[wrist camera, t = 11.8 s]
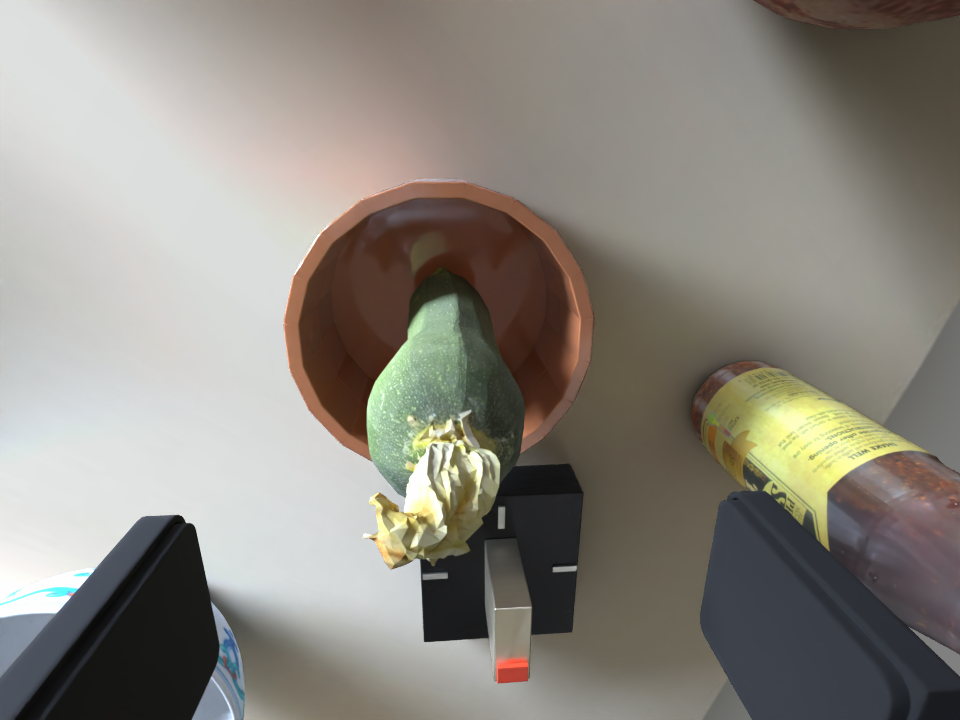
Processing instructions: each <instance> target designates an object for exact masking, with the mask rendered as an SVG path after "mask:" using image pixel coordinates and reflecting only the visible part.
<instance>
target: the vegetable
mask: <svg viewBox="0 0 960 720" xmlns="http://www.w3.org/2000/svg"><path fill="white" fill-rule="evenodd" d="M407 333H408V340H407V341H406V342H405V343H404V344H403V346H402V347H401V348H400V349H399V351H398V352H397V353H396V355H395V356H394V357H393V359H392V360H391V361H390V363H389V364H388V365H387V366H386V368H385V369H384V370H383V372H382V373H381V374H380V376H379V377H378V378H377V380H376V381H375V384H374V386H373V389H372V391H371V394H370V396H369V399H368V406H367V434H368V444H369V452H370V456H371V459H372V461H373V462H374V464H375V465H376V467H377V469H378V470H379V472H380V473H381V474H382V475H383V476H384V478H385V479H386V480H387V481H388V482H389V483H390V485H391V486H392V487H393V488H394V489H395V491H396V492H397V493H398V494H400V495H402V496H403V497H405V498H406V503H405V509H404V513H402V512H399V508H398V506H397V505H396V504H394V503H392V502H390V501H389V500H388V499H387V497H385V496H384V495H382V494H381V493H379V492H378V493H377V494H375V495H373V496H372V497H371V498H370V502H369V504H370V505H375V506H376V515H377V522H378V528H379V532H378V533H376V534H373V535H369V534H364V535H363V538H370V539H372V540H373V541H375V542H376V544H377V546H378V548H379V550H380V552H381V554H382V557H383V559H384V561H385V563H386V564H387V565H388V567H389V568H390V569H394V568H398V567H401V566H403V565H406V564H408V563H410V562H412V561H413V560H414V559H415V558H418V559H427V560H428V561H430V562H431V565H432V566H434V565H435V563H436V561H437V559H438V558H443V559H444V558H445V557H446V556H448V555H454V556H458V555H462V554H464V553H467V552H469V551H470V549H469V547H468V544H467V543H466V541H467V540H468V539H469V538H470V536H471V535H472V534H473V533H474V532H475V531H476V530H477V529H478V528H479V527H480V526H481V525H482V524H483V521H482V517H483V516H484V515H486V514H487V513H488V512H489V511H490V510H491V508H492V506H493V504H494V502H495V498H496V494H497V491H498V488H499V484H500V483H501V482H502V480H503V479H504V478H505V477H506V475H507V474H508V473H509V472H510V471H511V469H512V468H513V467H514V466H515V464H516V462H517V460H518V458H519V455H520V452H521V445H522V438H523V431H524V417H525V404H524V399H523V396H522V393H521V390H520V388H519V386H518V384H517V383H516V381H515V379H514V377H513V376H512V374H511V371H510V370H509V368H508V367H507V366H506V364H505V362H504V361H503V359H502V357H501V354H500V351H499V348H498V345H497V342H496V339H495V335H494V331H493V325H492V320H491V316H490V313H489V310H488V308H487V306H486V304H485V303H484V301H483V299H482V297H481V296H480V294H479V292H478V291H477V290H476V289H475V288H474V287H473V286H472V285H471V284H470V283H469V282H468V281H467V280H466V279H465V278H463V277H461V276H459V275H455V274H453V273H452V272H450V271H448V270H446V269H445V267H444V266H440V267H438V268H437V269H436V271H435V272H434V274H433V275H430V276H428V277H427V278H425V279H424V280H423V281H422V282H421V284H420V285H419V286H418V287H417V288H416V290H415V291H414V292H413V294H412V296H411V298H410V302H409V317H408V328H407Z"/></svg>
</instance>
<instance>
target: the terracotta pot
mask: <svg viewBox="0 0 960 720" xmlns="http://www.w3.org/2000/svg"><path fill="white" fill-rule="evenodd" d="M440 266H444V267H445V269H446V270H448V271H450V272H452V273H453V274H455V275H459V276H461V277H463V278H465V279H466V280H467V281H468V282H469V283H470V284H471V285H472V286H473V287H474V288H475V289H476V290H477V291H478V292H479V294H480V296H481V297H482V299H483V301H484V303H485V304H486V306H487V308H488V310H489V313H490V316H491V320H492V325H493V331H494V335H495V339H496V342H497V345H498V348H499V351H500V354H501V357H502V359H503V361H504V362H505V364H506V366H507V367H508V368H509V370H510V371H511V374H512V376H513V377H514V379H515V381H516V383H517V384H518V386H519V388H520V390H521V393H522V396H523V399H524V404H525V417H524V431H523V438H522V445H521V452H520V454H521V453H523V452H524V451H526V450H527V449H528V448H530V447H531V446H533V445H534V444H536V443H537V442H539V441H540V440H542V439H543V438H545V437H546V436H547V435H548V433H549V432H550V431H551V430H552V429H553V427H554V426H555V425H556V424H557V422H558V421H559V420H560V419H561V418H562V416H563V415H564V414H565V413H566V412H567V410H568V409H569V408H570V407H571V406H572V404H573V402H574V401H575V399H576V396H577V394H578V391H579V389H580V387H581V384H582V382H583V379H584V377H585V374H586V372H587V370H588V367H589V365H590V361H591V354H592V341H593V328H594V317H593V316H594V313H593V309H592V305H591V301H590V297H589V293H588V289H587V285H586V281H585V277H584V273H583V272H582V269H581V267H580V266H579V264H578V263H577V261H576V260H575V258H574V257H573V255H572V253H571V252H570V250H569V249H568V247H567V246H566V244H565V243H564V241H563V240H562V238H561V237H560V235H559V234H558V232H557V231H556V230H555V229H554V228H553V227H552V226H550V225H549V224H548V223H546V222H545V221H544V220H543V219H541V218H540V217H539V216H537V215H536V214H535V213H534V212H532V211H531V210H530V209H528V208H527V207H526V206H525V205H523V204H522V203H521V202H519V201H518V200H516V199H514V198H512V197H509V196H507V195H504V194H501V193H498V192H495V191H492V190H489V189H487V188H484V187H481V186H478V185H475V184H472V183H469V182H466V181H463V180H460V179H415V180H412V181H409V182H407V183H404V184H401V185H398V186H395V187H392V188H389V189H386V190H383V191H381V192H378V193H376V194H373V195H371V196H368V197H366V198H363V199H362V200H360V201H358V202H357V203H356V204H355V205H353V206H352V207H351V208H349V209H348V210H347V211H346V212H344V213H343V214H342V215H341V216H339V217H338V218H337V219H336V220H334V221H333V222H332V223H331V224H329V225H328V226H327V227H326V228H324V229H323V230H322V231H321V233H319V234H318V236H317V238H316V239H315V241H314V243H313V244H312V246H311V247H310V249H309V251H308V252H307V254H306V255H305V257H304V259H303V260H302V262H301V263H300V265H299V267H298V268H297V270H296V271H295V273H294V276H293V279H292V283H291V288H290V293H289V297H288V302H287V307H286V311H285V316H284V321H283V322H284V324H283V326H284V333H285V341H286V349H287V357H288V364H289V369H290V373H291V375H292V377H293V379H294V381H295V383H296V385H297V387H298V389H299V391H300V393H301V395H302V397H303V399H304V401H305V403H306V405H307V407H308V409H309V411H310V412H311V413H312V414H313V415H314V416H315V417H316V419H317V420H318V421H319V422H320V423H321V424H322V425H323V426H324V427H325V428H326V429H327V430H328V431H329V432H330V433H331V434H332V435H333V436H334V437H335V438H336V439H337V440H338V441H339V442H340V443H342V445H343V446H345V447H347V448H349V449H351V450H352V451H354V452H356V453H358V454H359V455H361V456H363V457H365V458H367V459H368V460H370V461H372V459H371V456H370V452H369V444H368V434H367V406H368V399H369V396H370V394H371V391H372V389H373V386H374V384H375V381H376V380H377V378H378V377H379V376H380V374H381V373H382V372H383V370H384V369H385V368H386V366H387V365H388V364H389V363H390V361H391V360H392V359H393V357H394V356H395V355H396V353H397V352H398V351H399V349H400V348H401V347H402V346H403V344H404V343H405V342H406V341H407V340H408V333H407V328H408V317H409V302H410V298H411V296H412V294H413V292H414V291H415V290H416V288H417V287H418V286H419V285H420V284H421V282H422V281H423V280H424V279H425V278H427V277H428V276H430V275H433V274H434V272H435V271H436V269H437V268H438V267H440ZM372 462H373V461H372Z"/></svg>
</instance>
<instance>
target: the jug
mask: <svg viewBox="0 0 960 720" xmlns="http://www.w3.org/2000/svg"><path fill="white" fill-rule="evenodd" d="M754 1H756V2H757V3H759V4H761V5H762V6H764V7H766V8H767V9H769V10H771V11H772V12H774V13H775V14H778V15H780V16H783V17H785V18H788V19H792V20H796V21H801V22H805V23H809V24H814V25H818V26H822V27H827V28H831V29H875V28H896V27H901V26H907V25H912V24H917V23H923V22H928V21H933V20H939V19H944V18H949V17H954V16H959V15H960V0H754Z"/></svg>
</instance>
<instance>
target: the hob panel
mask: <svg viewBox="0 0 960 720" xmlns="http://www.w3.org/2000/svg"><path fill="white" fill-rule="evenodd" d="M582 503H583V491H582V489H581V486H580V484H579V482H578V480H577V478H576V476H575V473H574V471H573V469H572V467H571V465H570V464H559V465H536V466H514V467H513V468H512V469H511V471H510V472H509V473H508V474H507V475H506V477H505V478H504V479H503V480H502V482H501V483H500V484H499V488H498V491H497V494H496V498H495V502H494V504H493V506H492V508H491V510H490V511H489V512H488V513H487V514H486V515H484V516H483V517H482V521H483V524H482V525H481V526H480V527H479V528H478V529H477V530H476V531H475V532H474V533H473V534H472V535H471V536H470V538H469V539H468V540H467V541H466V543H467V544H468V547H469V549H470V551H469V552H467V553H464V554H462V555H458V556H454V555H448V556H446V557H445V558H444V559H443V558H438V559H437V561H436V563H435V565H434V566H432V565H431V562H430V561H428V560H427V559H420V564H421V586H422V608H423V630H424V642H435V641H450V640H465V639H480V638H489V635H488V626H487V618H486V609H485V540H490V539H507V538H516V539H517V542H518V546H519V550H520V555H521V559H522V564H523V568H524V573H525V577H526V582H527V586H528V591H529V595H530V599H531V604H532V628H531V635H539V634H554V633H569V632H572V629H573V616H574V604H575V591H576V579H577V566H578V554H579V541H580V528H581V516H582Z"/></svg>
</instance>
